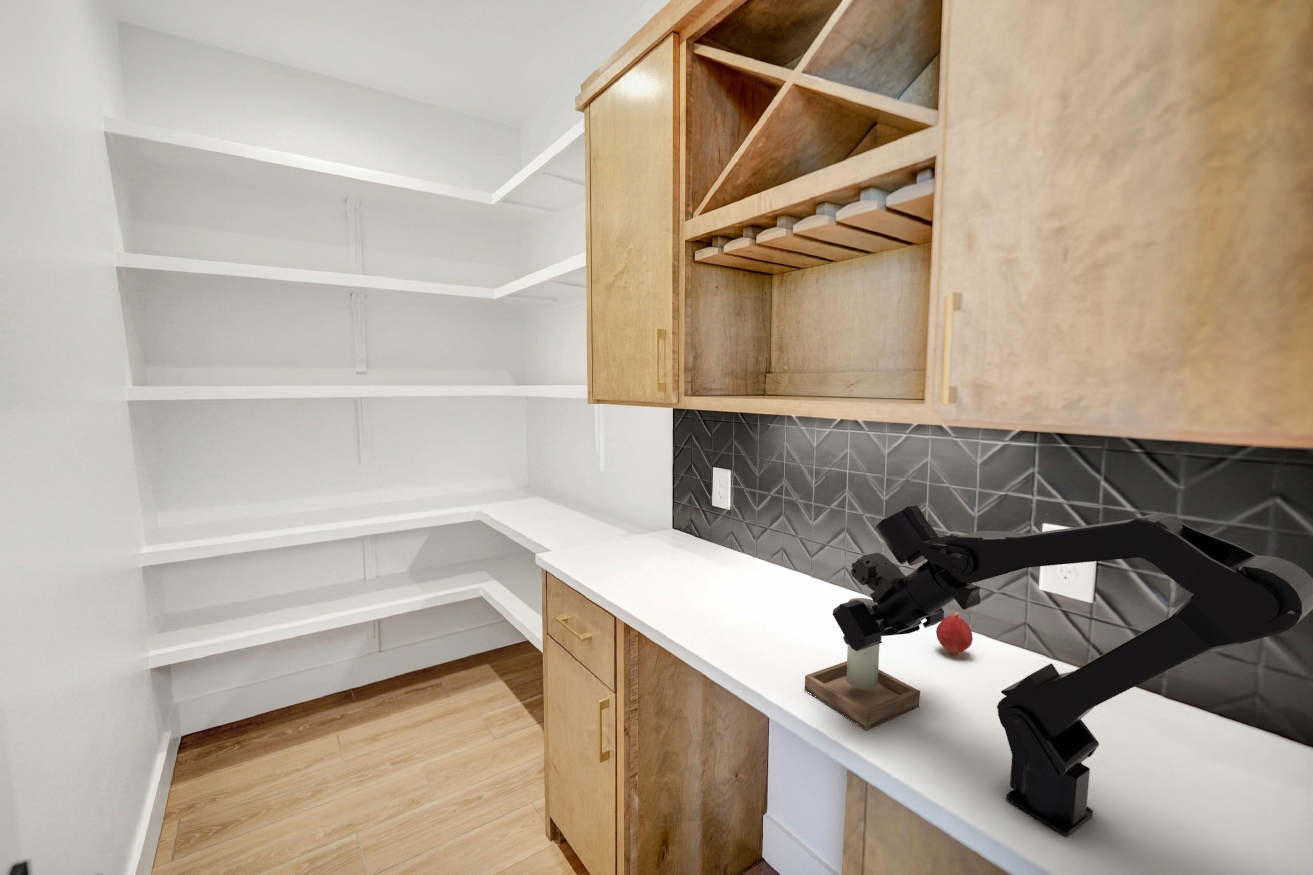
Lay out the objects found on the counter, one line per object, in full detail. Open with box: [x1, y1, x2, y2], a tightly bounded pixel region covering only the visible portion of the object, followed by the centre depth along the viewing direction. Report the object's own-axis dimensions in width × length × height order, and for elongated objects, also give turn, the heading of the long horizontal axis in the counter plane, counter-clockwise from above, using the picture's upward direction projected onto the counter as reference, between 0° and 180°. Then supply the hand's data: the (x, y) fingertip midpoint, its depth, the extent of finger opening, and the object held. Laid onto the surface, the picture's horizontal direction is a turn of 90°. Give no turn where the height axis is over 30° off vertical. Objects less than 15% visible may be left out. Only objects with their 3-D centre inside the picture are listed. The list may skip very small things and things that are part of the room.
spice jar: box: [846, 597, 881, 689], centre depth 87 cm, size 5×5×12 cm
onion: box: [935, 612, 974, 656], centre depth 102 cm, size 6×6×8 cm
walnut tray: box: [804, 660, 921, 731], centre depth 88 cm, size 12×12×2 cm
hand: (856, 637), depth 88 cm, fingers closed on spice jar, 5 cm apart
